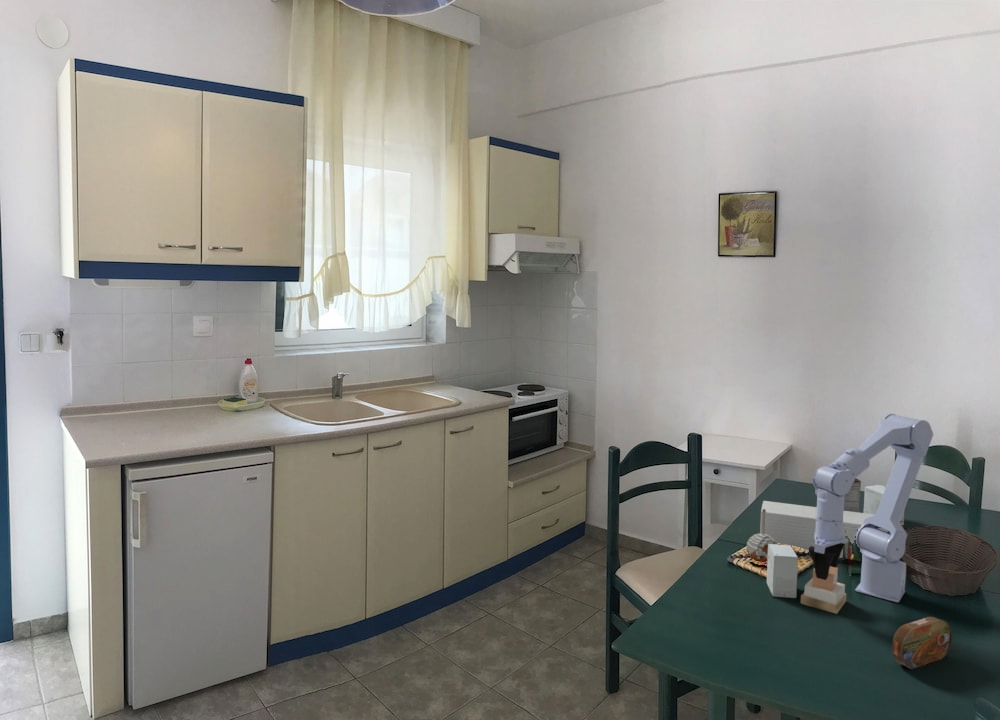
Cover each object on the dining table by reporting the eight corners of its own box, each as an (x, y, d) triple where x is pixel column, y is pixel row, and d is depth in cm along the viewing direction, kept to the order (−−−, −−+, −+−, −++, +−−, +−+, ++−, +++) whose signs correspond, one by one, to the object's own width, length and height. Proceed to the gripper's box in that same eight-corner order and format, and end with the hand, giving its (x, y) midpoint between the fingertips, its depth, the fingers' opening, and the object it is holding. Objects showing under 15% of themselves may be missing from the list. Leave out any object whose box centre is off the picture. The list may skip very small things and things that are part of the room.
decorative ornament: (764, 570, 181) (766, 515, 179) (740, 560, 187) (742, 507, 186) (783, 564, 185) (785, 510, 183) (759, 554, 191) (761, 502, 190)
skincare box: (861, 517, 222) (864, 485, 220) (878, 515, 223) (880, 484, 222) (887, 528, 212) (889, 495, 210) (904, 526, 213) (906, 494, 212)
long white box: (759, 547, 197) (761, 511, 196) (761, 534, 207) (763, 500, 205) (885, 566, 184) (888, 528, 183) (881, 552, 194) (884, 515, 192)
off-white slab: (844, 594, 163) (845, 584, 162) (835, 604, 157) (836, 594, 157) (813, 585, 167) (814, 576, 167) (804, 595, 162) (804, 585, 162)
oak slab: (845, 603, 163) (846, 593, 163) (836, 616, 157) (837, 605, 157) (810, 593, 168) (811, 584, 168) (800, 605, 162) (801, 595, 162)
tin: (902, 673, 133) (905, 633, 132) (887, 665, 136) (890, 625, 135) (952, 656, 139) (955, 617, 138) (937, 649, 142) (940, 611, 141)
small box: (796, 599, 164) (798, 557, 163) (772, 597, 166) (774, 555, 164) (789, 584, 172) (791, 544, 171) (766, 582, 173) (767, 543, 172)
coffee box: (824, 520, 218) (827, 472, 216) (844, 521, 218) (847, 472, 216) (837, 531, 209) (840, 480, 207) (858, 531, 209) (862, 480, 207)
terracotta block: (816, 579, 165) (817, 563, 165) (836, 584, 163) (837, 568, 162) (812, 585, 162) (813, 569, 161) (832, 590, 159) (833, 574, 159)
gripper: (839, 530, 152) (835, 588, 154) (856, 513, 163) (852, 567, 165) (806, 523, 157) (803, 579, 158) (824, 507, 168) (821, 560, 169)
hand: (826, 573), depth 162 cm, fingers open, 7 cm apart
